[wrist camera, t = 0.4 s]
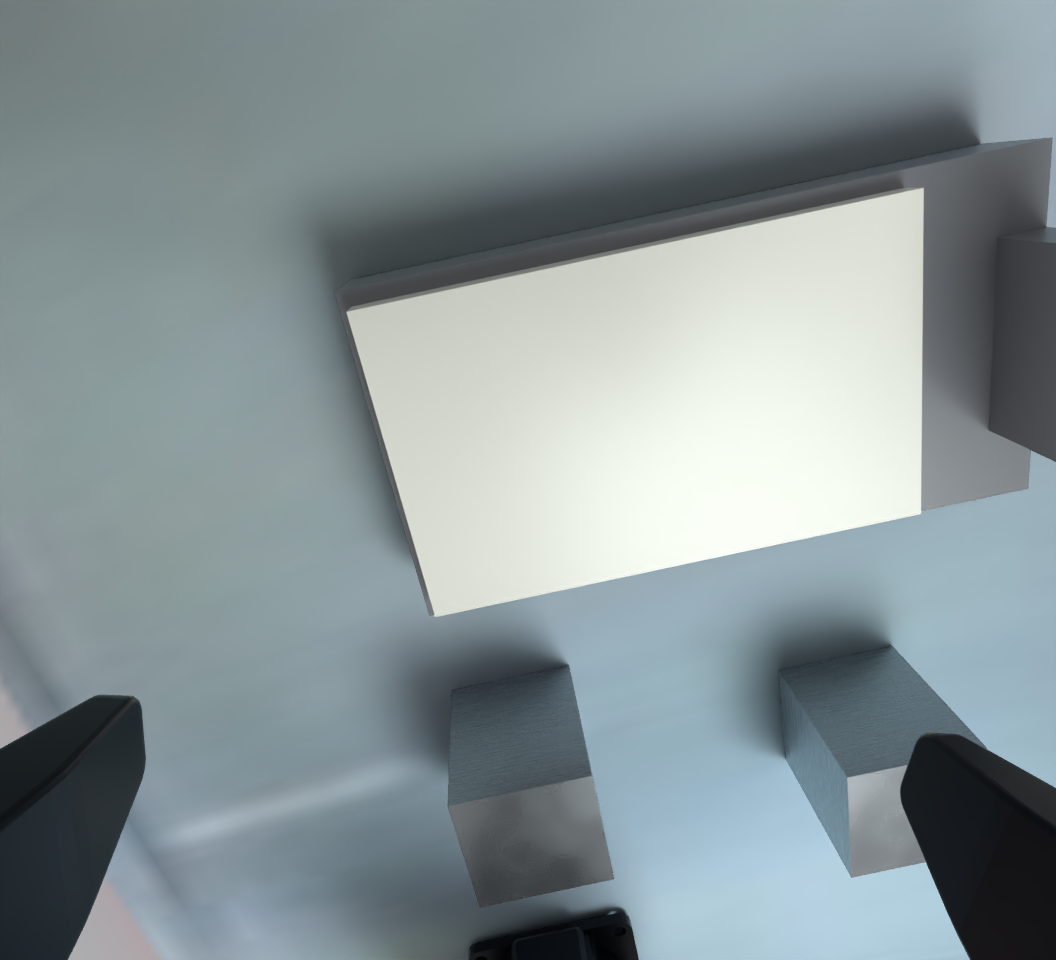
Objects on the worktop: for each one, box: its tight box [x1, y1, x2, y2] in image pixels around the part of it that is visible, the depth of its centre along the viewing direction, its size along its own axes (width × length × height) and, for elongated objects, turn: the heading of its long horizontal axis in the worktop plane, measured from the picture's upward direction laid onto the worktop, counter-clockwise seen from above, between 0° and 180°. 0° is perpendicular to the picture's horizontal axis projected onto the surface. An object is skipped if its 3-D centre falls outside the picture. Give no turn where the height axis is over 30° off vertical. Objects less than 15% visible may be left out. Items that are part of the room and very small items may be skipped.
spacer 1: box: [448, 665, 614, 907], centre depth 23 cm, size 4×4×5 cm
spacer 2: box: [778, 646, 987, 878], centre depth 24 cm, size 4×4×5 cm
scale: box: [334, 138, 1056, 617], centre depth 17 cm, size 9×17×8 cm, turn 101°
